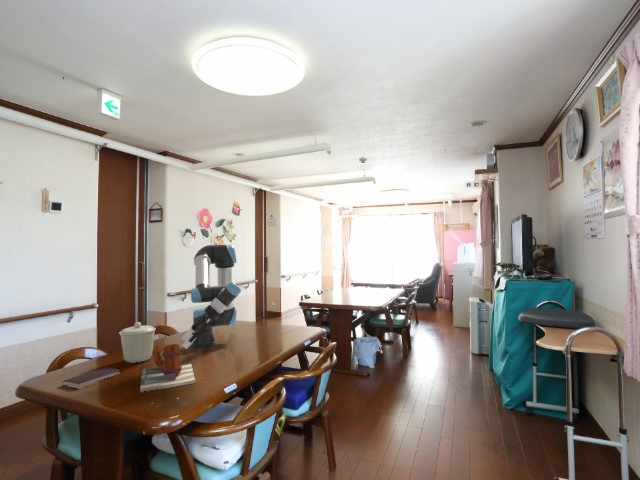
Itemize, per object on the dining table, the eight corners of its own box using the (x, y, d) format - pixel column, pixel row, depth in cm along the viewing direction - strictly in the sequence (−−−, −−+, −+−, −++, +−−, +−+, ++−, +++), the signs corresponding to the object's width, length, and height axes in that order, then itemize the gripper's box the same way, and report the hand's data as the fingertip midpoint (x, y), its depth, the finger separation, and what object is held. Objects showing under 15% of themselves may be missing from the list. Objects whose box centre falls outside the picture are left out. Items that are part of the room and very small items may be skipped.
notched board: (143, 373, 171) (143, 365, 171) (191, 366, 180) (191, 358, 180) (140, 392, 147) (140, 383, 147) (195, 383, 156) (194, 374, 156)
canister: (143, 353, 205) (143, 317, 206) (163, 357, 196) (162, 320, 197) (112, 362, 190) (111, 324, 190) (132, 367, 181) (131, 326, 181)
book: (62, 386, 158) (62, 379, 158) (105, 372, 176) (105, 366, 176) (78, 391, 153) (78, 383, 153) (120, 376, 170) (120, 369, 170)
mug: (186, 373, 166) (185, 341, 166) (175, 379, 158) (174, 346, 158) (160, 371, 169) (159, 340, 170) (148, 377, 162) (147, 345, 162)
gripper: (224, 318, 162) (191, 355, 156) (217, 309, 185) (188, 342, 179) (212, 307, 160) (178, 345, 154) (207, 300, 183) (177, 333, 177)
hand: (183, 343), depth 167 cm, fingers open, 13 cm apart
